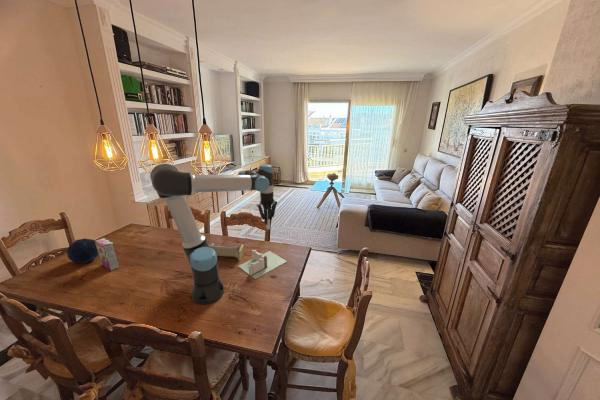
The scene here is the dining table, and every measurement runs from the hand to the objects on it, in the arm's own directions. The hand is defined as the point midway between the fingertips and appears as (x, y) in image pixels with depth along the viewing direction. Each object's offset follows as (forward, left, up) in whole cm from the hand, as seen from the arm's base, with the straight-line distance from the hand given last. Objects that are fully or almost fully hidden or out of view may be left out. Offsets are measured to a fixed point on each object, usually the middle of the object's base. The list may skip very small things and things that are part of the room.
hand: (267, 228), depth 143 cm
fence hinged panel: (-8, 0, -20) cm, 21 cm away
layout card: (-7, -3, -20) cm, 22 cm away
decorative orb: (-81, +75, -21) cm, 112 cm away
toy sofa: (-18, +20, -21) cm, 34 cm away
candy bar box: (-72, +58, -21) cm, 95 cm away
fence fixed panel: (-13, -7, -20) cm, 25 cm away
